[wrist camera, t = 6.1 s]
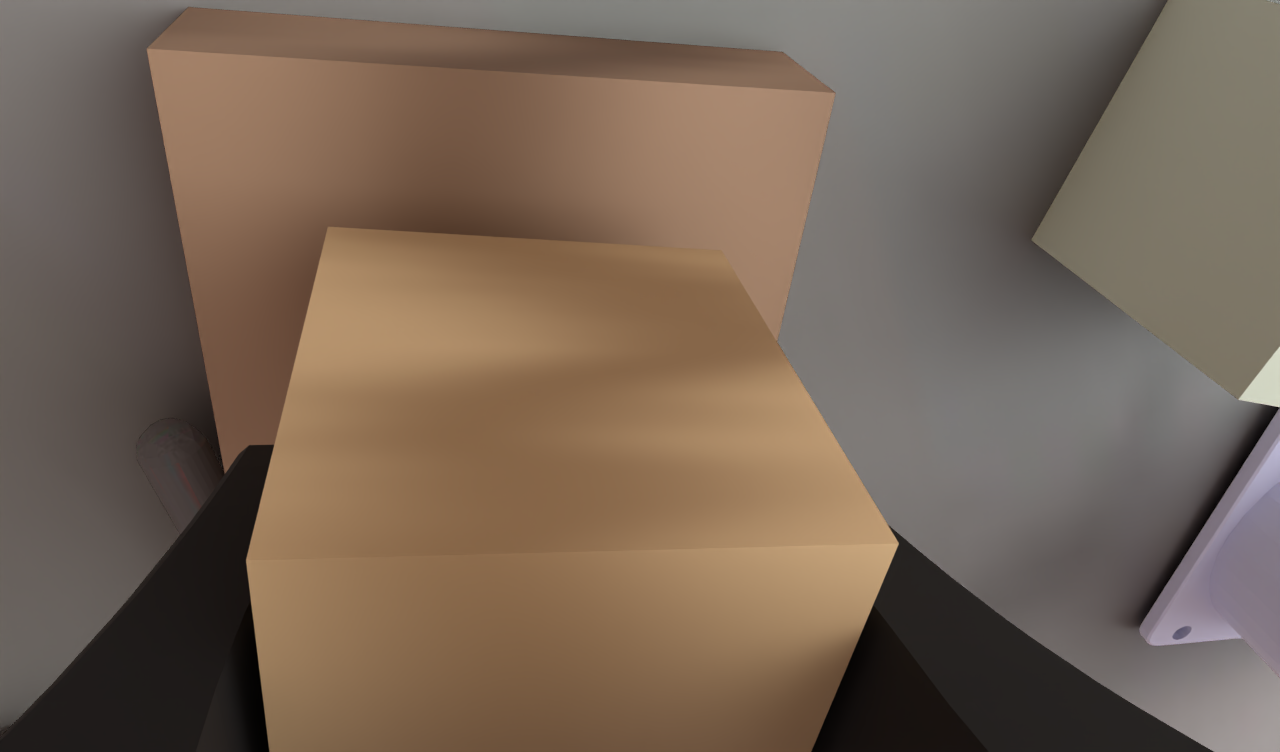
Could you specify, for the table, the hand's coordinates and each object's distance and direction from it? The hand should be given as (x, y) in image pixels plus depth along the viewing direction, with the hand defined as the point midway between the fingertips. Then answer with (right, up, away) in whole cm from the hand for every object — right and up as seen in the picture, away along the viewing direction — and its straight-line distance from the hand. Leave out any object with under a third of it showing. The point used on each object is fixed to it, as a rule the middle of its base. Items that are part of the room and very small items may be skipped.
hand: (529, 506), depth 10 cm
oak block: (0, +1, +1) cm, 2 cm away
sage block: (+11, +6, +5) cm, 13 cm away
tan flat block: (-1, +3, +5) cm, 6 cm away
